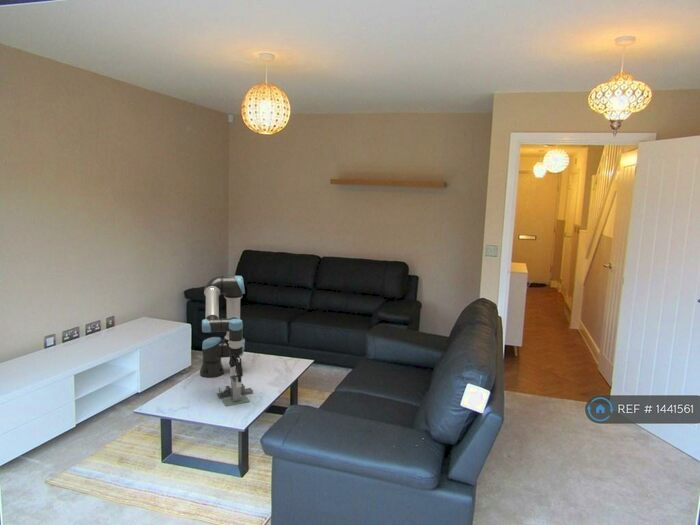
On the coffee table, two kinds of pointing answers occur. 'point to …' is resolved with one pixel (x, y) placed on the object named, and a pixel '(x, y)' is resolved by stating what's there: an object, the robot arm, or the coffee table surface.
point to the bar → (235, 390)
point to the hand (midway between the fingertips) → (235, 382)
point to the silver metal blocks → (227, 392)
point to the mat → (229, 402)
